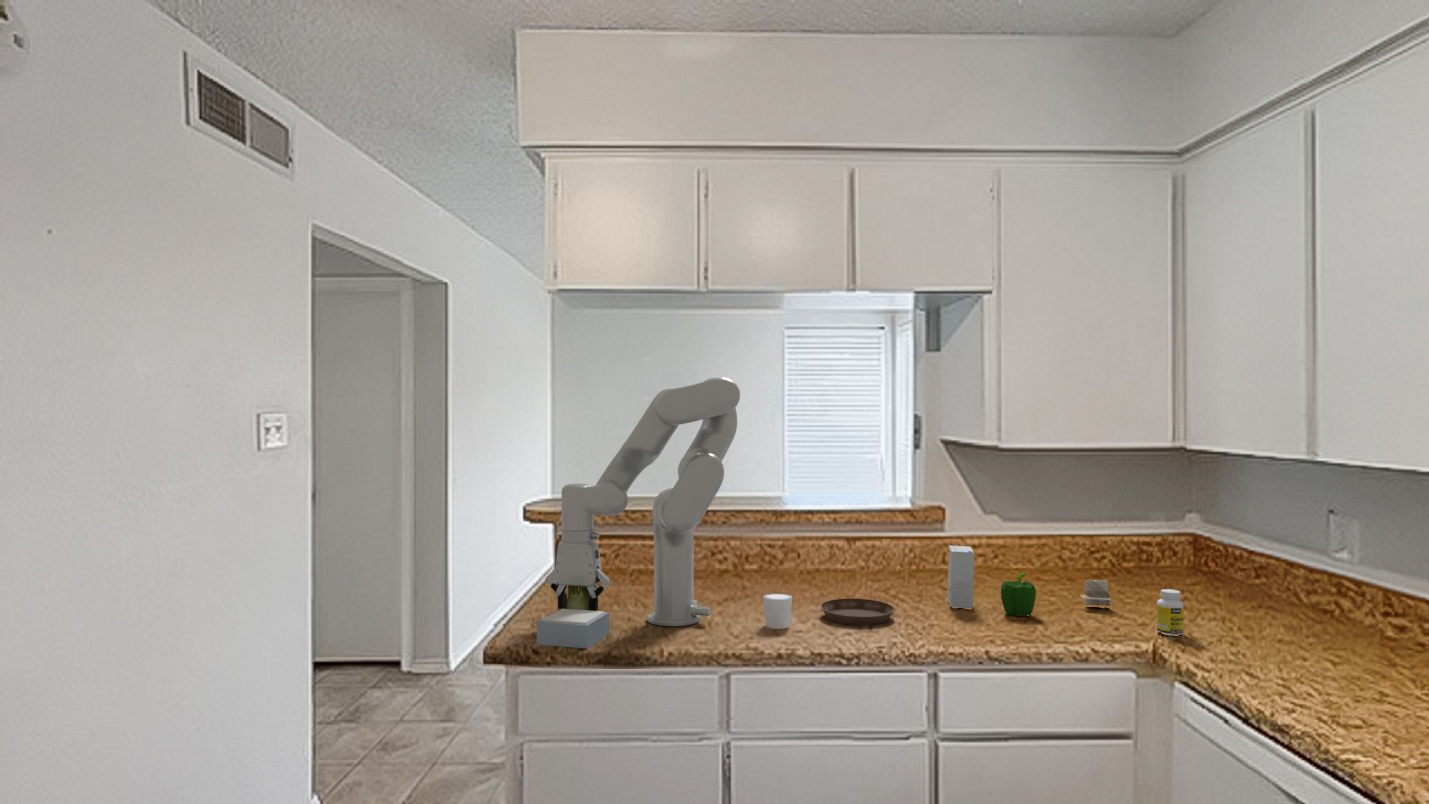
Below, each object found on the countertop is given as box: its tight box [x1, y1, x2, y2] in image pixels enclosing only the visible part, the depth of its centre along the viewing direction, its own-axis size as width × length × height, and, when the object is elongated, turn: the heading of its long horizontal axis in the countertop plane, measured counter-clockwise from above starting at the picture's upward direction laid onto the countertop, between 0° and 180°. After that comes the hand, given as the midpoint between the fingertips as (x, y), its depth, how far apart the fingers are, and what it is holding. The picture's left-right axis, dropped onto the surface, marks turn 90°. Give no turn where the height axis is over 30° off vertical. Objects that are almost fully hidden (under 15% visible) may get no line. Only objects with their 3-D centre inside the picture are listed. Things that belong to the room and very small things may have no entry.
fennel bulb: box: [566, 586, 591, 611], centre depth 214 cm, size 6×5×12 cm
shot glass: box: [762, 593, 793, 630], centre depth 214 cm, size 7×7×7 cm
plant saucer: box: [820, 597, 895, 626], centre depth 222 cm, size 18×18×3 cm
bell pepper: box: [1000, 572, 1037, 617], centre depth 225 cm, size 8×8×10 cm
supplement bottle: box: [1156, 588, 1185, 635], centre depth 207 cm, size 5×5×10 cm
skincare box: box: [947, 545, 975, 609], centre depth 235 cm, size 8×6×15 cm
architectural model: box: [1079, 579, 1112, 607], centre depth 231 cm, size 3×7×7 cm, turn 81°
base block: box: [536, 609, 610, 649], centre depth 202 cm, size 12×12×5 cm
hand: (577, 612), depth 214 cm, fingers open, 6 cm apart
